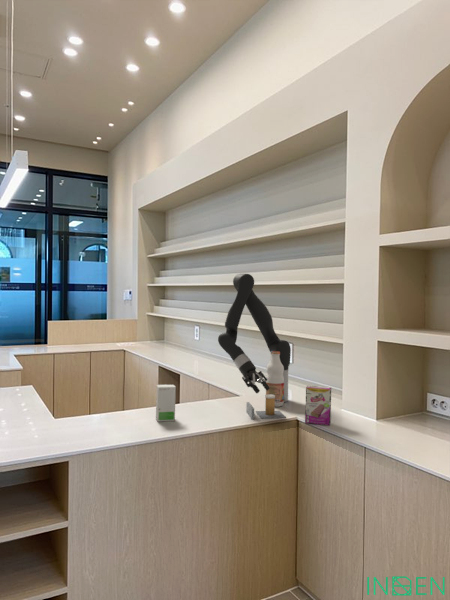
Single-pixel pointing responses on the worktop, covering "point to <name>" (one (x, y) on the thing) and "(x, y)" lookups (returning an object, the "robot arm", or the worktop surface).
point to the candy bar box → (318, 405)
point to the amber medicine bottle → (270, 404)
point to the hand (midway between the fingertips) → (263, 390)
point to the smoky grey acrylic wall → (250, 410)
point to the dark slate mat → (264, 416)
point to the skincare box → (165, 403)
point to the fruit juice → (275, 378)
